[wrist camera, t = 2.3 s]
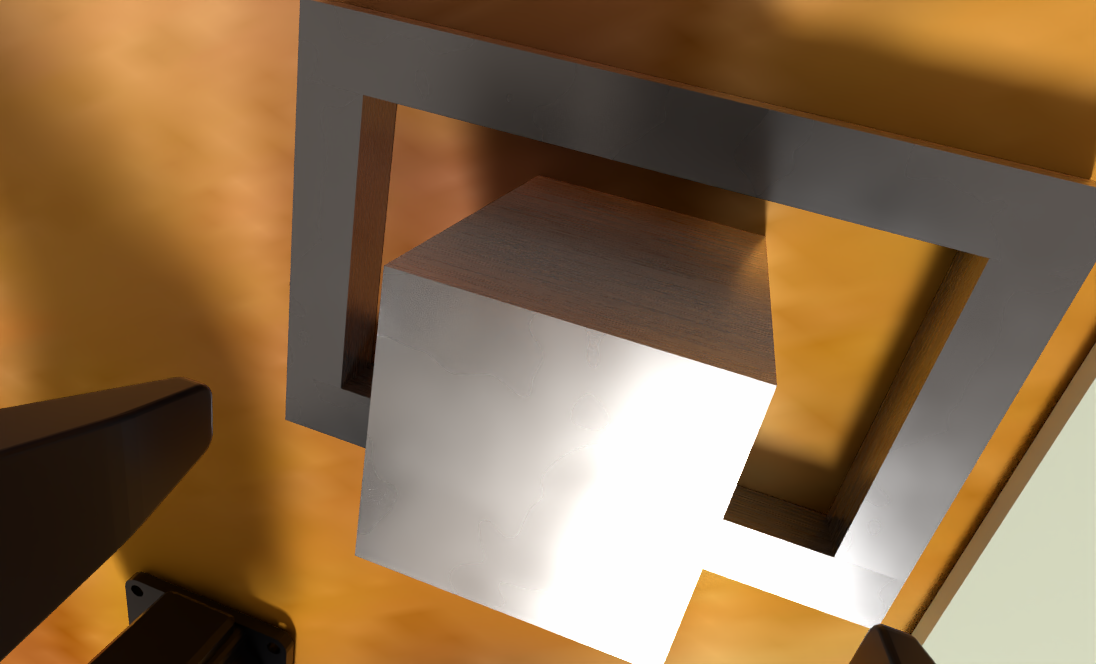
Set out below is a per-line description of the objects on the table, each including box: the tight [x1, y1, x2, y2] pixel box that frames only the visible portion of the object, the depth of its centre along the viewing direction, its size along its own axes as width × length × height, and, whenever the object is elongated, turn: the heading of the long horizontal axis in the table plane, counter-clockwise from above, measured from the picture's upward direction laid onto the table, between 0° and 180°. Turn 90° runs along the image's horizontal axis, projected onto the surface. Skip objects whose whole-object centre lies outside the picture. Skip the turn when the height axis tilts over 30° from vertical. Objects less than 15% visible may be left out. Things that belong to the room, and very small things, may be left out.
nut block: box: [355, 175, 777, 664], centre depth 12 cm, size 5×5×7 cm
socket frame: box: [285, 0, 1096, 628], centre depth 15 cm, size 10×15×2 cm, turn 78°
